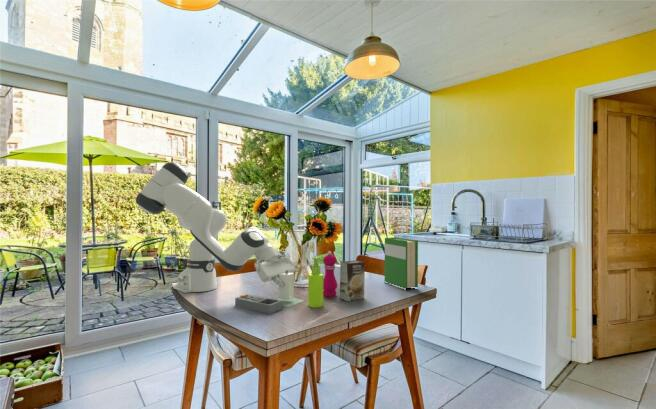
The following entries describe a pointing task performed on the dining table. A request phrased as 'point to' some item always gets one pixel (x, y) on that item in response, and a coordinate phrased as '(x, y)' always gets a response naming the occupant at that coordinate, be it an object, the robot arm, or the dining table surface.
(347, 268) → the coffee box
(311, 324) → the dining table surface
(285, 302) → the rubber mat
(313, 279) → the soap dispenser
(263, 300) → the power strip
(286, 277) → the white pillar candle
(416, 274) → the hardback book
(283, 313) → the dining table surface
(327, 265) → the pepper mill
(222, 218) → the robot arm
